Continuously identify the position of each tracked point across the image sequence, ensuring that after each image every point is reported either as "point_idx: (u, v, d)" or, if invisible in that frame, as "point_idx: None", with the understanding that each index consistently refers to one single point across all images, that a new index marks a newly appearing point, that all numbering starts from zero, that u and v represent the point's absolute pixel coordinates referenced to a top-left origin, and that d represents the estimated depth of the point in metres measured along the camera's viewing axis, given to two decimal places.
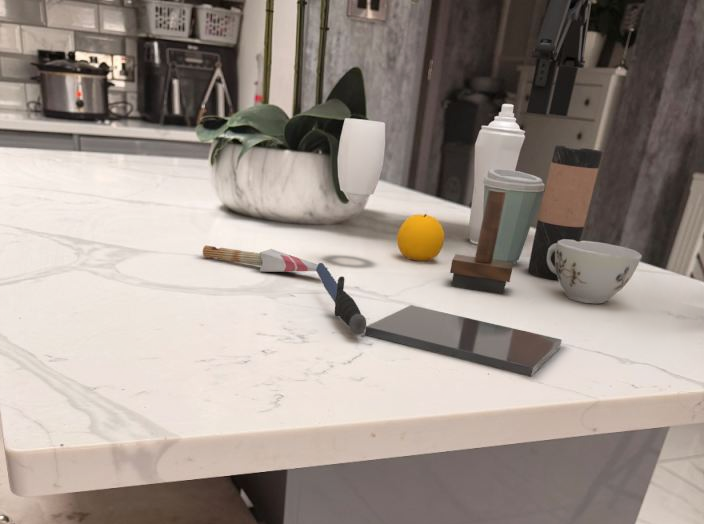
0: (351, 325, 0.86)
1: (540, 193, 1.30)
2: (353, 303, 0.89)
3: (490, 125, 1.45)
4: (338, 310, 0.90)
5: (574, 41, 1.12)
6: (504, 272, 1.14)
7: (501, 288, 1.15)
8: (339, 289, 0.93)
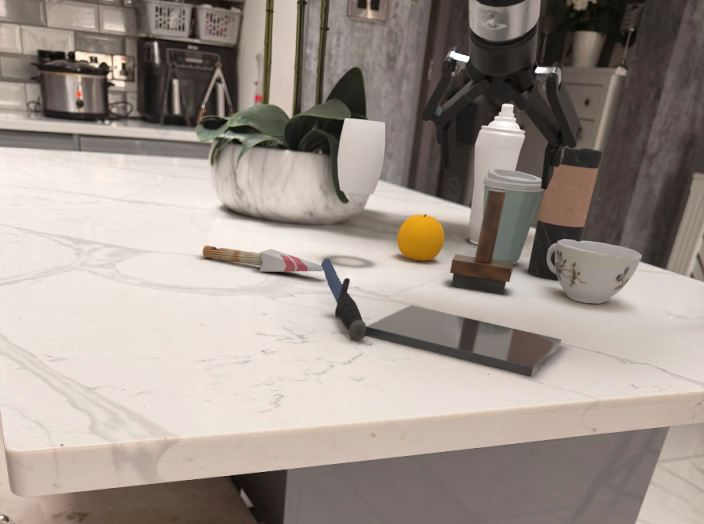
0: (351, 330, 0.86)
1: (540, 193, 1.30)
2: (355, 308, 0.89)
3: (490, 125, 1.45)
4: (340, 312, 0.90)
5: None
6: (504, 272, 1.14)
7: (501, 288, 1.15)
8: (343, 290, 0.93)
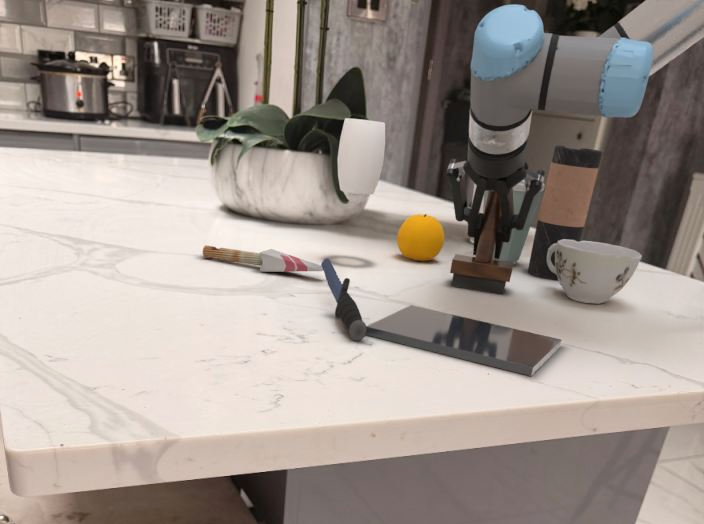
0: (351, 330, 0.86)
1: (540, 193, 1.30)
2: (355, 308, 0.89)
3: None
4: (340, 312, 0.90)
5: None
6: (504, 272, 1.14)
7: (501, 288, 1.15)
8: (343, 290, 0.93)
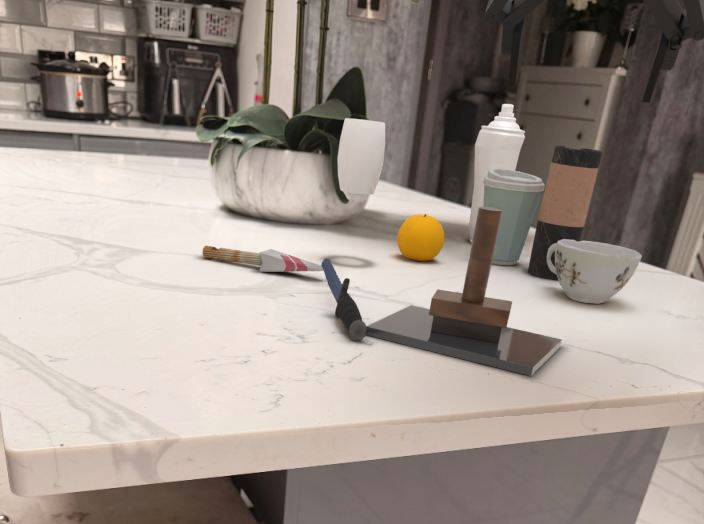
0: (351, 330, 0.86)
1: (540, 193, 1.30)
2: (355, 308, 0.89)
3: (490, 125, 1.45)
4: (340, 312, 0.90)
5: None
6: (499, 316, 0.86)
7: (495, 336, 0.88)
8: (343, 290, 0.93)
